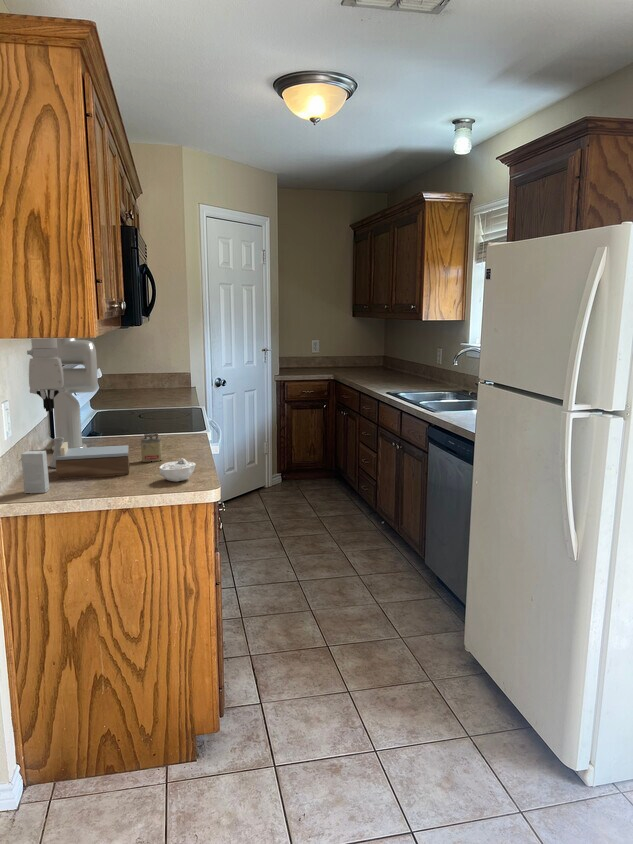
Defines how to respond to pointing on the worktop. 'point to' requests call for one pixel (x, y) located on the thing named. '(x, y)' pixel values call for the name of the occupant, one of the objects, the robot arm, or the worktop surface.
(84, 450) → the lid
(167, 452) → the worktop surface
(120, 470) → the wooden box
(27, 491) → the skincare box
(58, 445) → the flask
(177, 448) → the worktop surface
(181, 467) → the cell model
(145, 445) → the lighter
